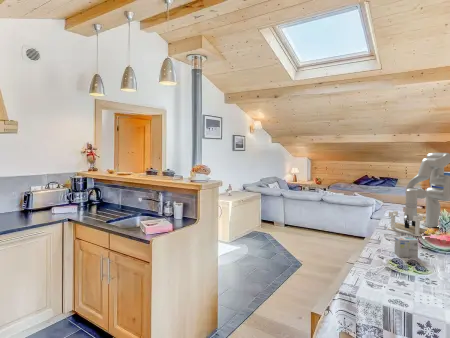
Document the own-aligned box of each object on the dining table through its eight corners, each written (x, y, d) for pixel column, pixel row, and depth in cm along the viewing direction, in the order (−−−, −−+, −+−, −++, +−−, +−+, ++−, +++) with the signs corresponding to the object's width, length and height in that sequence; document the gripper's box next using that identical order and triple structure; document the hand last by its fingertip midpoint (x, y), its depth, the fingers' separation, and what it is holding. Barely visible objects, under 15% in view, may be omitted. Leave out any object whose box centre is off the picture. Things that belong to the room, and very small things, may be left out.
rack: (392, 228, 234) (392, 210, 233) (423, 235, 214) (424, 216, 213) (386, 229, 230) (387, 211, 229) (418, 237, 210) (418, 217, 209)
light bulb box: (412, 253, 178) (412, 236, 177) (418, 257, 171) (419, 240, 170) (393, 253, 179) (394, 236, 178) (399, 257, 172) (399, 239, 172)
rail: (397, 227, 238) (397, 222, 238) (428, 235, 216) (428, 229, 216) (394, 227, 236) (394, 222, 236) (424, 235, 214) (424, 230, 214)
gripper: (412, 203, 232) (411, 224, 233) (399, 205, 224) (399, 227, 225) (422, 204, 226) (421, 226, 227) (410, 207, 217) (409, 229, 218)
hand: (410, 227), depth 226 cm, fingers open, 9 cm apart
